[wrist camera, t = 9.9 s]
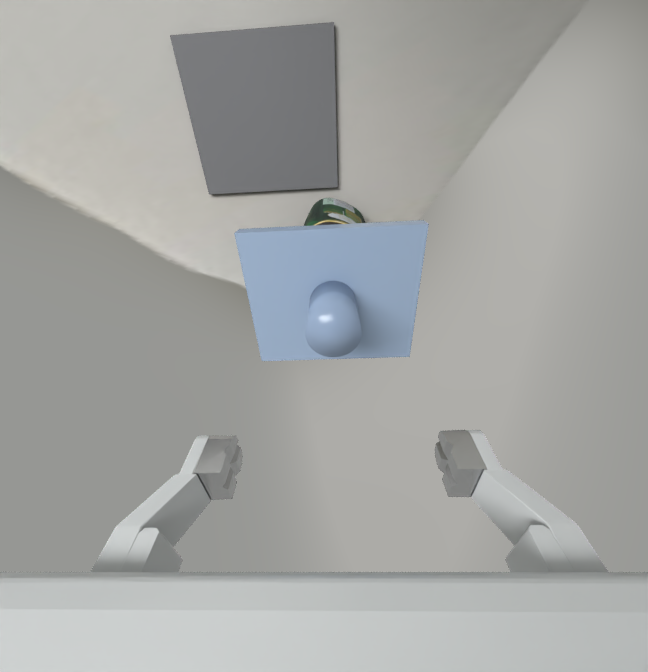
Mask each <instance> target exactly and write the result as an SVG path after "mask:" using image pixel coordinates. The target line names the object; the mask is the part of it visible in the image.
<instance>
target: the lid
mask: <svg viewBox="0 0 648 672" xmlns="http://www.w3.org/2000/svg"><path fill="white" fill-rule="evenodd" d="M428 225H429V224H428V223H427V222H425V221H424V220H417V221H396V222H376V223H355V224H334V225H314V226H293V227H273V228H252V229H239V230H238V231H236V232H235V233H234V234H235V238H236V243H237V247H238V252H239V257H240V261H241V266H242V271H243V275H244V280H245V285H246V289H247V294H248V298H249V303H250V308H251V313H252V317H253V322H254V327H255V331H256V336H257V341H258V345H259V350H260V355H261V359H262V361H276V360H277V361H278V360H313V359H347V358H380V357H409V356H410V350H411V343H412V335H413V329H414V322H415V315H416V308H417V300H418V294H419V287H420V280H421V273H422V266H423V259H424V252H425V245H426V238H427V231H428Z"/></svg>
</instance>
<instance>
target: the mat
mask: <svg viewBox="0 0 648 672" xmlns="http://www.w3.org/2000/svg"><path fill="white" fill-rule="evenodd" d="M170 37H171V41H172V46H173V50H174V54H175V58H176V62H177V66H178V70H179V74H180V78H181V82H182V86H183V90H184V94H185V98H186V102H187V106H188V110H189V115H190V119H191V123H192V127H193V131H194V135H195V139H196V143H197V147H198V151H199V155H200V159H201V163H202V167H203V171H204V175H205V179H206V184H207V188H208V192H209V194H225V193H243V192H261V191H278V190H296V189H313V188H331V187H338V176H337V132H336V88H335V44H334V22H330V23H318V24H306V25H293V26H281V27H268V28H256V29H244V30H231V31H219V32H207V33H194V34H182V35H170Z"/></svg>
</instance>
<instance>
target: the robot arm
mask: <svg viewBox="0 0 648 672" xmlns="http://www.w3.org/2000/svg"><path fill="white" fill-rule="evenodd" d="M438 438H439V442H438V443H436V447H435V458H436V462H437V465H438V468H439V469H440V470H441V471H442V472H443V473H444V475H443V478H442V480H443V483H444V486H445V489H446V492H447V495H448V496H449V497H471V499H472V500H473V501H474V502H475V503H476V504H477V505H478V506H479V507H480V509H481V510H482V511H483V512H484V513H485V514H486V515H487V516H488V517H489V518H490V519H491V520H492V522H493V523H494V524H495V525H496V526H497V527H498V528H499V529H500V530H501V531H502V532H503V533H504V534H505V536H506V537H507V538H508V539H509V540H510V541H511V542H512V543H513V544H514V545H515V546H514V547H513V549H512V550H511V551H510V553H509V554H508V555H507V557H506V559H505V560H506V562H507V565H508V567H509V569H510V572H179V569H180V565H181V563H182V558H181V556H180V555H179V554H178V552H177V551H176V550H175V549H174V548H173V547H174V545H175V544H176V543H177V542H178V541H179V540H180V538H181V537H182V536H183V535H184V533H185V532H186V531H187V530H188V529H189V527H190V526H191V525H192V524H193V522H194V521H195V520H196V519H197V518H198V516H199V515H200V514H201V513H202V512H203V510H204V509H205V508H206V507H207V505H208V504H209V503H210V502H211V500H216V499H232V498H233V494H234V491H235V487H236V484H237V481H236V479H235V476H236V475H237V474H238V473H239V472H240V469H241V465H242V450H241V447H239V446H238V445H237V443H238V439H237V437H236V436H198V437H197V438H196V439H195V441H194V443H193V445H192V447H191V449H190V451H189V454H188V456H187V458H186V460H185V462H184V464H183V467H182V469H181V471H180V473H179V474H175V475H174V476H173V477H172V478H171V479H169V480H168V481H167V482H166V483H165V484H164V485H163V486H162V487H161V488H159V489H158V490H157V491H156V492H155V493H154V494H153V495H151V496H150V497H149V498H148V499H147V500H146V501H145V502H143V503H142V504H141V505H140V506H139V507H138V508H137V509H135V510H134V511H133V512H132V513H131V514H130V515H129V516H127V518H125V519H124V520H123V521H122V522H121V523H120V524H118V525H117V526H116V527H115V529H114V531H113V533H112V535H111V536H110V538H109V540H108V542H107V543H106V545H105V547H104V549H103V551H102V552H101V554H100V556H99V558H98V559H97V561H96V563H95V565H94V566H93V568H92V570H91V572H0V672H648V572H608V570H607V569H606V567H605V566H604V564H603V563H602V562H601V560H600V558H599V557H598V555H597V554H596V552H595V551H594V549H593V548H592V546H591V545H590V543H589V541H588V540H587V538H586V537H585V535H584V534H583V532H582V531H581V529H580V528H579V526H578V525H577V524H576V523H575V522H574V521H572V520H571V519H570V518H569V517H568V516H566V515H565V514H564V513H562V512H561V511H560V510H559V509H557V508H556V507H555V506H553V505H552V504H551V503H550V502H548V501H547V500H546V499H544V498H543V497H542V496H541V495H539V494H538V493H537V492H536V491H534V490H533V489H532V488H530V487H529V486H528V485H527V484H525V483H524V482H523V481H521V480H520V479H519V478H518V477H516V476H515V475H514V474H512V473H511V472H510V471H509V470H507V469H505V470H504V469H503V468H502V466H501V464H500V463H499V461H498V459H497V457H496V455H495V453H494V452H493V450H492V448H491V446H490V444H489V442H488V441H487V439H486V437H485V435H484V433H483V432H482V431H481V430H453V431H440V432H439V435H438Z"/></svg>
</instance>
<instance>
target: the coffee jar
mask: <svg viewBox="0 0 648 672" xmlns="http://www.w3.org/2000/svg"><path fill="white" fill-rule="evenodd" d="M355 223H365V221H364V218H363V216H362V214H361V213H360V212H359V211H358V210H357V209H356V208H354V207H353V206H351V205H349V204H347V203H345V202H343V201H340V200H337V199H333V198H324V199H321V200H319V201H318V202H317V203H315V204H314V206H313V207H312V209H311V211H310V213H309V215H308V217H307V219H306V221H305V224H304V226H314V225H334V224H355Z"/></svg>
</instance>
